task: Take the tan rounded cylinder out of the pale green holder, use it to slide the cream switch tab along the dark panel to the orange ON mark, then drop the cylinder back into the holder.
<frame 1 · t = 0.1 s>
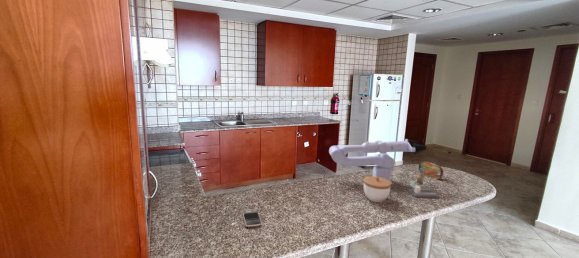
hand: (422, 145, 148), 22 cm above the countertop, tool horizontal, fingers open, 7 cm apart
stylus holder: (418, 188, 144), on the countertop
cell phone: (251, 221, 107), on the countertop
lidded bowl: (375, 199, 130), on the countertop
tin: (429, 176, 163), on the countertop
switch tab: (417, 189, 135), point 3 cm above the countertop, slide at 0.0 cm
switch panel: (422, 195, 136), on the countertop
tan rounded cylinder: (418, 187, 144), resting on stylus holder
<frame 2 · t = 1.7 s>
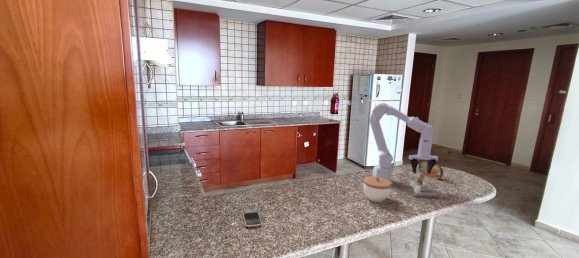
hand: (421, 172, 142), 9 cm above the countertop, tool pointing down, fingers open, 7 cm apart
nothing on the countertop moved.
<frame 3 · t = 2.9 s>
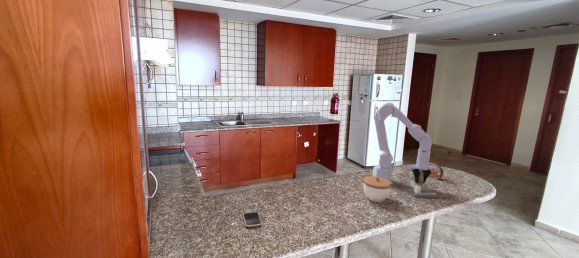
hand: (419, 182, 143), 3 cm above the countertop, tool pointing down, fingers closed on tan rounded cylinder, 3 cm apart
tan rounded cylinder: (418, 187, 144), point 1 cm above the countertop, touching gripper, stylus holder
everything else where it was.
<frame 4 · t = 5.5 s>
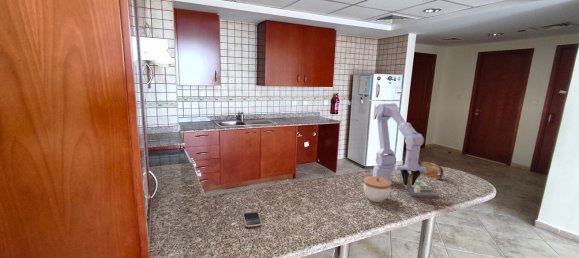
hand: (408, 184, 134), 6 cm above the countertop, tool pointing down, fingers closed on tan rounded cylinder, 3 cm apart
tan rounded cylinder: (407, 189, 135), point 3 cm above the countertop, touching gripper
everything else where it was.
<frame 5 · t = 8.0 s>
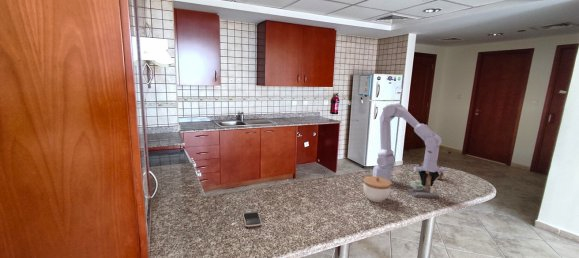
hand: (426, 185, 134), 6 cm above the countertop, tool pointing down, fingers closed on tan rounded cylinder, 3 cm apart
switch tab: (430, 190, 135), point 3 cm above the countertop, slide at 6.8 cm, touching tan rounded cylinder
tan rounded cylinder: (425, 190, 135), point 3 cm above the countertop, touching gripper, switch tab
everything else where it was.
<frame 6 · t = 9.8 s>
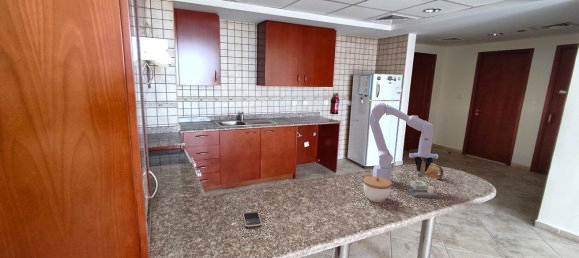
hand: (421, 170, 142), 10 cm above the countertop, tool pointing down, fingers closed on tan rounded cylinder, 3 cm apart
switch tab: (430, 190, 135), point 3 cm above the countertop, slide at 6.8 cm
tan rounded cylinder: (420, 176, 143), point 7 cm above the countertop, touching gripper
everything else where it was.
when the fingers open (5 cm above the countertop, at t = 11.2 s): tan rounded cylinder drops 1 cm, resting on stylus holder.
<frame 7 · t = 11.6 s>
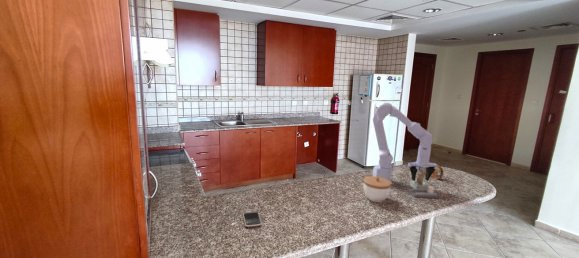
hand: (420, 179, 143), 5 cm above the countertop, tool pointing down, fingers open, 7 cm apart
tan rounded cylinder: (418, 187, 144), point 1 cm above the countertop, touching stylus holder
everything else where it was.
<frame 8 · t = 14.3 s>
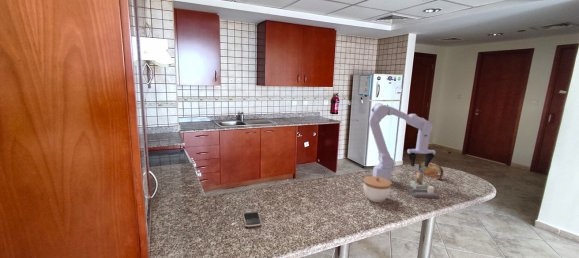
hand: (419, 166, 148), 10 cm above the countertop, tool pointing down, fingers open, 7 cm apart
nothing on the countertop moved.
at the end: switch tab slide at 6.8 cm; tan rounded cylinder 0.2 cm off-centre on the stylus holder, point 0.5 cm above the stylus holder's base; tan rounded cylinder tilted 2° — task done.
